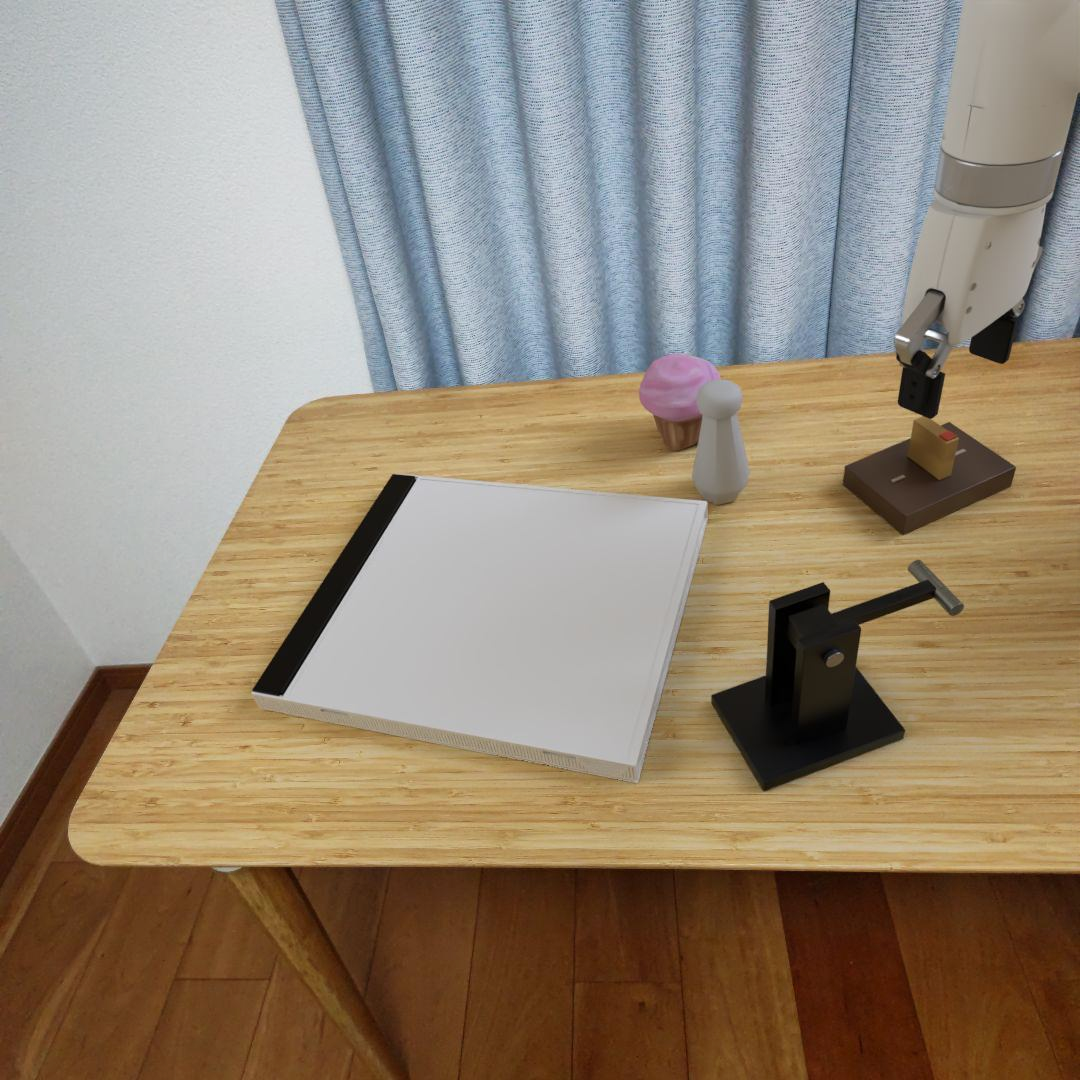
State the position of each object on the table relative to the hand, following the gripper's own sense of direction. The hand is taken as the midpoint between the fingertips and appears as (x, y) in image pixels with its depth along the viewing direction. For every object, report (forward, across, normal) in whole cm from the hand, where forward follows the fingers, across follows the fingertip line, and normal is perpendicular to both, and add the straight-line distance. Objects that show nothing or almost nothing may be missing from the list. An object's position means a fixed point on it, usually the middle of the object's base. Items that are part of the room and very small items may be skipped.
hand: (953, 383), depth 73 cm
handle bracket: (+18, +23, +5) cm, 30 cm away
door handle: (+8, +19, +7) cm, 22 cm away
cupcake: (+18, +3, -28) cm, 34 cm away
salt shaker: (+18, +7, -19) cm, 27 cm away
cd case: (+18, +34, -23) cm, 44 cm away
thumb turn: (+15, -7, -4) cm, 17 cm away
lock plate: (+18, -7, -4) cm, 20 cm away
